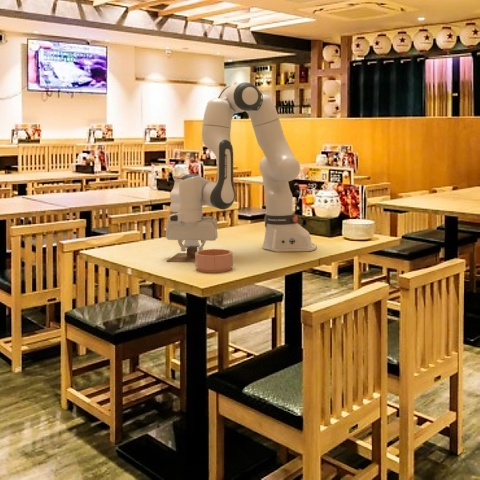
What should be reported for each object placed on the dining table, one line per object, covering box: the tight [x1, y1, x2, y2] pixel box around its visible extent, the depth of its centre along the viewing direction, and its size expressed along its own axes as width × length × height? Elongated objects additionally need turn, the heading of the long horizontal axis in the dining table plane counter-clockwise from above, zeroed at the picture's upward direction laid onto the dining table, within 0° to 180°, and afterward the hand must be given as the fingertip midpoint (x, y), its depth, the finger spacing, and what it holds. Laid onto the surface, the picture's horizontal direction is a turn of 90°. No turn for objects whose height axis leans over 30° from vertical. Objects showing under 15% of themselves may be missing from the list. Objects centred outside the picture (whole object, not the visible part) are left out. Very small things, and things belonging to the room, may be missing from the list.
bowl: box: [194, 248, 234, 274], centre depth 235 cm, size 13×13×6 cm
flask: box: [183, 240, 201, 248], centre depth 280 cm, size 7×7×10 cm
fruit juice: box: [169, 175, 184, 216], centre depth 305 cm, size 9×9×28 cm
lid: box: [166, 246, 198, 264], centre depth 255 cm, size 16×16×5 cm
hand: (192, 251), depth 255 cm, fingers open, 5 cm apart
